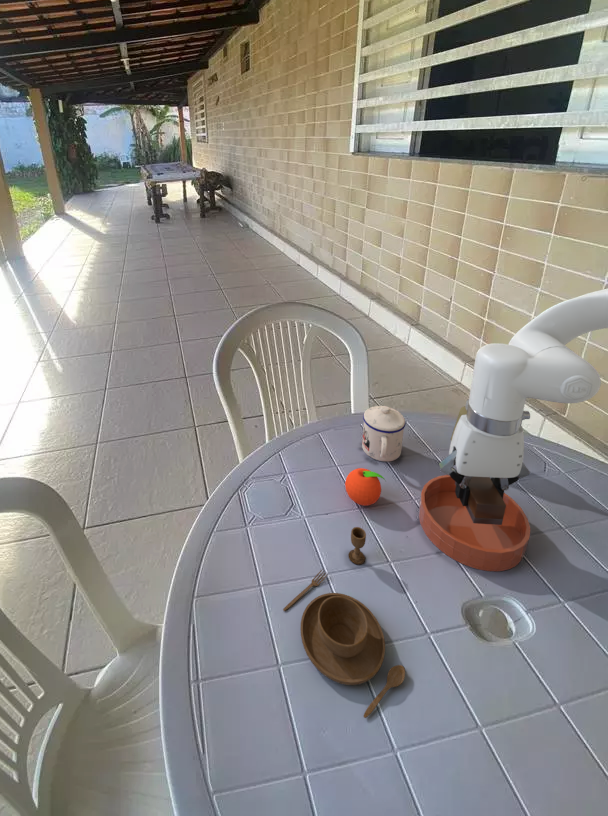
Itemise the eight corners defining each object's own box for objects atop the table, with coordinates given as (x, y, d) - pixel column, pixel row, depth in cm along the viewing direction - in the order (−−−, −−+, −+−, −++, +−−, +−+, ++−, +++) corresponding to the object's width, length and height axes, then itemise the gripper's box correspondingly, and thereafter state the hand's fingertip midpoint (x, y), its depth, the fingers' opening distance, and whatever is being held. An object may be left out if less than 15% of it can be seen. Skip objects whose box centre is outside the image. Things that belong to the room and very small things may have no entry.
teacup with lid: (361, 434, 105) (363, 394, 100) (400, 439, 102) (405, 399, 98) (360, 468, 94) (363, 425, 90) (404, 475, 91) (410, 431, 87)
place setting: (270, 616, 66) (269, 591, 64) (352, 545, 77) (354, 521, 74) (364, 733, 53) (367, 705, 50) (448, 627, 63) (454, 600, 61)
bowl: (498, 494, 85) (502, 477, 84) (545, 576, 69) (552, 556, 68) (408, 489, 88) (410, 472, 86) (434, 566, 72) (438, 547, 70)
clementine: (379, 486, 89) (381, 459, 86) (390, 513, 82) (393, 485, 80) (340, 487, 89) (342, 460, 87) (348, 514, 83) (350, 486, 80)
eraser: (479, 485, 80) (483, 466, 79) (501, 525, 72) (506, 505, 70) (454, 483, 81) (457, 465, 79) (473, 523, 73) (477, 503, 71)
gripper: (537, 404, 72) (518, 487, 78) (431, 402, 74) (421, 482, 81) (563, 433, 65) (540, 521, 71) (446, 429, 67) (434, 515, 74)
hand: (477, 499), depth 76 cm, fingers closed on eraser, 4 cm apart
